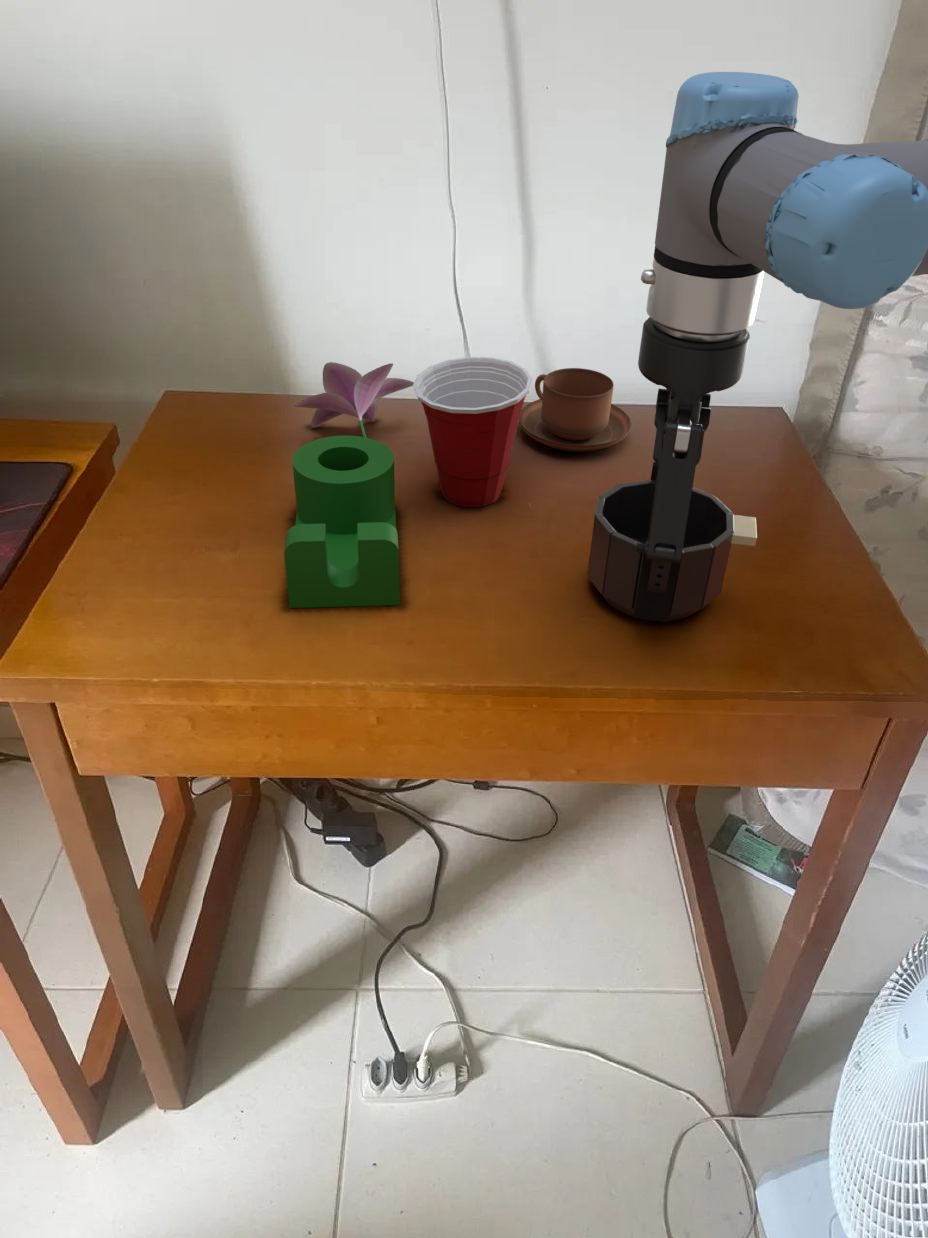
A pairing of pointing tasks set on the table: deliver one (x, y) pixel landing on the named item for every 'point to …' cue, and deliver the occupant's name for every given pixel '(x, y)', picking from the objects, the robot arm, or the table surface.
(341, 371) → the lily
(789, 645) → the table surface
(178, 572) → the table surface
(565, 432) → the cup and saucer
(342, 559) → the green bracket
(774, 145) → the robot arm
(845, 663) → the table surface
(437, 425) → the plastic cup
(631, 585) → the cooking pot
